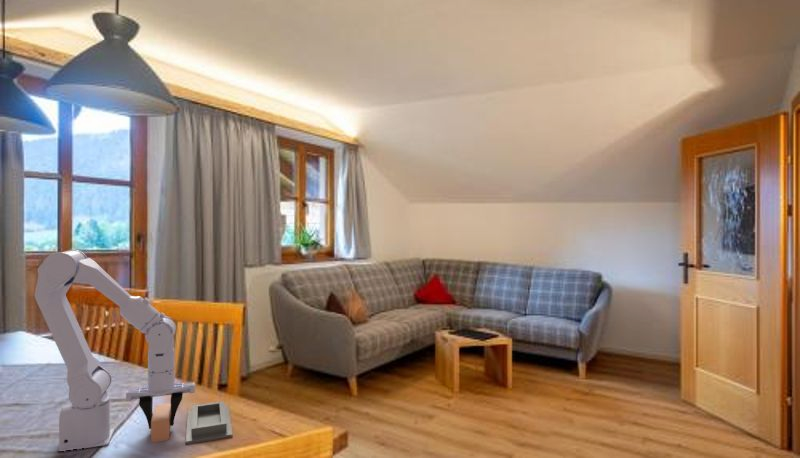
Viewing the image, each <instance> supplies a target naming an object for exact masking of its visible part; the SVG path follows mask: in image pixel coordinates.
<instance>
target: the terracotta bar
mask: <svg viewBox="0 0 800 458" xmlns="http://www.w3.org/2000/svg"><path fill="white" fill-rule="evenodd" d="M152 412H153V415H152V419H151V429H150V443H155V442H160V441H161V442H163V441H167V440H170V434H171V433H170V432H171V427H172V426H170V418H171V402H168V403H167V402H165V403H158V404H154V408H153V410H152Z"/></svg>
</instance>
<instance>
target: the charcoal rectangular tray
mask: <svg viewBox="0 0 800 458" xmlns="http://www.w3.org/2000/svg"><path fill="white" fill-rule="evenodd" d="M185 433H186V434H185V445H189V444H195V443H202V442H210V441H214V440H221V439H227V438H232V437H233V429H232V421H231V414H230V406H229V405H225V400H223V401H216V402H214V401H213V402H208V403H207V402H206V403H200V404H192V409H191V410H187V417H186V430H185Z"/></svg>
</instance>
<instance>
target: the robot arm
mask: <svg viewBox="0 0 800 458" xmlns="http://www.w3.org/2000/svg"><path fill="white" fill-rule="evenodd" d="M37 275H38V276H37V282H36V286H35V290H34V291H35V292H34V299H35V301H36V303H37V306H38V307H39V309H40V312H41V315H42V316H43V319H44V321H45V323H46V325H47V327H48V329H49V331H50V334H51V336H52V338H53V340H54V342H55V344H56V347H57V350H58V351H59V354H60V355H61V358H62V360H63V362H64V364H65V366H66V369H67V373H66V382H67V385H68V388H69V389H68V390H69V391H68V400H69V402H70V404H66V405H63V406H62V407H61V408H60V412H59V417H58V451H64V450H71V451H74V450H73V449H77V450H82V448H84V449H89V448H90V449H91V448H96V447H101V446H108V445H109V444H110V442H111V439H112V437H113V435H114V432H115V428H111V422H110V421H111V420H110V419H111V410H110V409H111V408H110V407H111V405H110V402H111V401H110V398H111V396H109V394H108V391H107V390H108V389H109V388H110V386H111V384H112V381H113V380H112V379H113V378H112V374H111V373H110V372H109V371H108V370H107V369H106V368H104V367H103V366H102V363H101V362H100V360H99V359H97V358H95V357H94V356H93V355H94V354H93V353H92V350H91V348H90V347H89V345H88V342H87V340H86V338H85V335H84V333H83V331H82V329H81V327H80V324H79V322H78V320H77V318H76V315H75V313H74V310H73V308H72V306H71V304H70V302H69V300H68V298H67V295H66V294H67V293H68V291H69V290H70V288H71V286H72V285H73V283H74V284H83V285H85V284H86V285H90V286H92V287H93V288H95V289H96V290H97V291H99V292H100V293H101V294H103V296H105V297H106V298H108V299H109V300H110V301H112V302H113V303H114V304H116V305H117V306H118V307H119V315H120V316H121V317H122V318H124V320H126V321H127V322H128V323H129V324H131V326H133V327H134V328H135V329H136V330H138V331H139V332H140V333H142V334H144V337H145V339H144V340H145V341H146V342H147V344H148V351H147V386H144V387H139V388H138V387H137V388H134V389H128V390H126V392H125V393H126V395H125V400H126V402H131V401H132V400H138V399H139V401H138V404H139V407H140V408H141V410H142V412H143V414H144V415H145V418H146V420H147V424H148V430H151V419H152V415H153V403H154V402H153V399H154V397H155V398H156V397H164V396H170V403H171V418H170V426H171V427H173V426H174V424H175V418H176V414H177V411H178V409H179V405H180V404H181V402H182V399H183V394H188V393H189V394H194V393H195V392H196V391H195V389H196V388H195V387H196V386H195V382H176V375H175V374H176V372H175V369H176V364H175V363H176V356H175V355H176V353H175V352H176V349H175V339H174V335H175V333H176V331H177V330H176V329H177V328H176V327H177V325H176V323H175V322H174V320H173V319H172V317H170V316H168V315H167V316H166V314H165V313H164V312H161V313H160V312H159V311H158V310H157V309H156V308H155V307H154V306H152V305H151V304H150V302H151V300H150V299H149V298H148V297H144V298H143V297H142V296H141V295H138V296H135V295H131V294H130V293H129V292H128V291H127V290H125V288H123V286H121V285H120V284H119V283H118V281H116V280H115V278H113V277H111V275H109V274H108V273H107V272H106V271H105V270H104V269H103V268H102V267H101V266H100V265H99V264H98V263H97V262H96V261H95V260H94V259H92V258H91V257H87V255H86V254H85V253H84V252H83V251H81V250H78V249H67V250H65V251H63V252H60V251H59V252H54V253H51V254H49V255H47V256H46V257H45V259H43V262H42V263H41V264H39V267H38V268H37ZM64 452H65V451H64Z"/></svg>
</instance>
